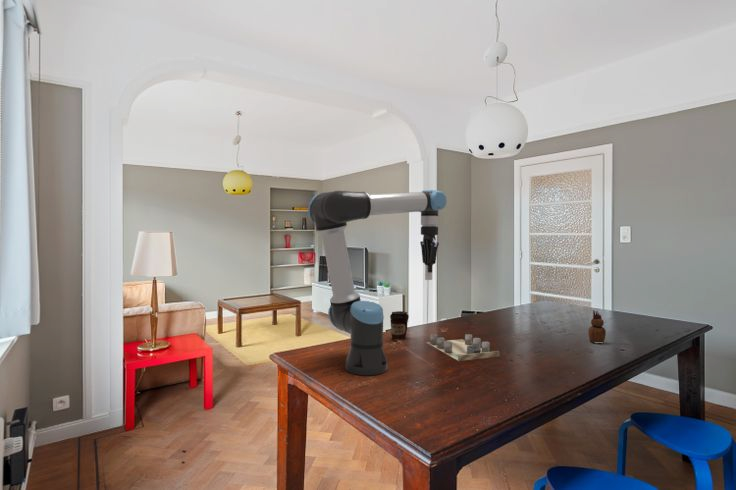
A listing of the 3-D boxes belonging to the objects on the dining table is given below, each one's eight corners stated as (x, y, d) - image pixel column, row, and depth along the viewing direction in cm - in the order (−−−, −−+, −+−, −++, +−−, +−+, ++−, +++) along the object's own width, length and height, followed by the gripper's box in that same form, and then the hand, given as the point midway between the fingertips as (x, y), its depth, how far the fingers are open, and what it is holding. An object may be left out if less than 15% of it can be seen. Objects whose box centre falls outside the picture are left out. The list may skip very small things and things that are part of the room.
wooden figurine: (590, 344, 180) (591, 310, 180) (586, 340, 186) (587, 308, 185) (607, 345, 178) (608, 311, 178) (602, 341, 184) (603, 309, 184)
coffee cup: (407, 344, 177) (407, 314, 177) (388, 342, 179) (388, 313, 179) (409, 338, 186) (409, 310, 185) (391, 337, 188) (391, 310, 187)
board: (458, 365, 150) (459, 350, 150) (426, 345, 175) (426, 333, 175) (499, 360, 156) (499, 346, 156) (462, 342, 181) (462, 330, 181)
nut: (470, 357, 154) (470, 349, 154) (463, 353, 159) (463, 346, 159) (483, 356, 156) (483, 348, 156) (476, 352, 161) (476, 345, 161)
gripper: (444, 225, 171) (443, 281, 172) (430, 226, 184) (429, 277, 184) (428, 225, 169) (427, 281, 170) (415, 225, 181) (414, 278, 182)
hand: (428, 279), depth 177 cm, fingers closed
